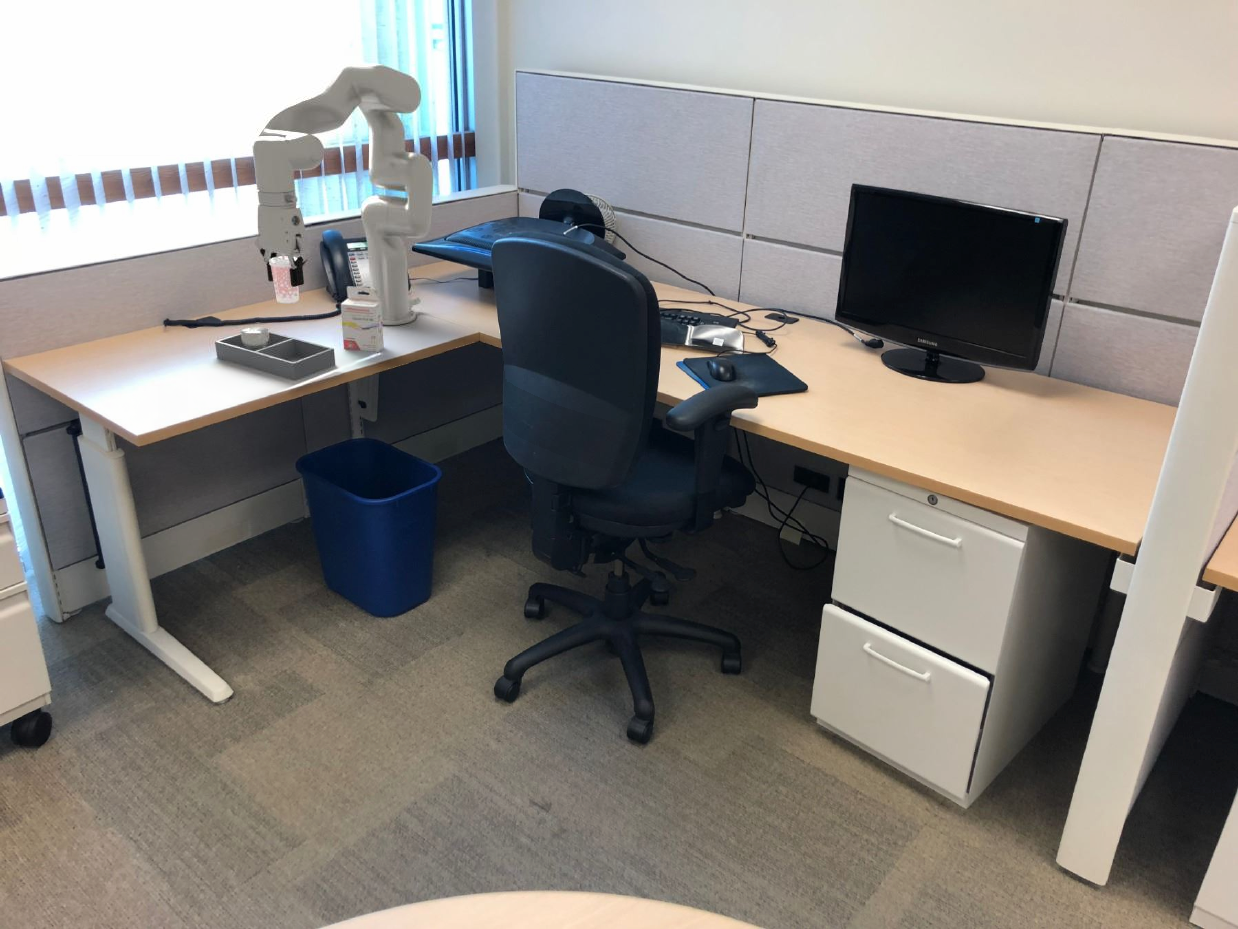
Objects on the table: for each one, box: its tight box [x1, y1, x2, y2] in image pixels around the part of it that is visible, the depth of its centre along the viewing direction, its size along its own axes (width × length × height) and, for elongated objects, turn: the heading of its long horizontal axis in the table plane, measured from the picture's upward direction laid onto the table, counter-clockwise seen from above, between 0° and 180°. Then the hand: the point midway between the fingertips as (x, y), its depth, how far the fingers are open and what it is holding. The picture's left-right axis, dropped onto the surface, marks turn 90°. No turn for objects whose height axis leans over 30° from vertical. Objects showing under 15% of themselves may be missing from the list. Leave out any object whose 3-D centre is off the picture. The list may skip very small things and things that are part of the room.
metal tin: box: [240, 326, 270, 351], centre depth 229 cm, size 6×6×6 cm
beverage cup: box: [269, 254, 300, 304], centre depth 215 cm, size 6×6×14 cm
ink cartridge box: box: [340, 285, 385, 354], centre depth 236 cm, size 9×5×15 cm, turn 84°
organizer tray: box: [214, 330, 336, 381], centre depth 227 cm, size 12×25×4 cm, turn 60°
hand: (286, 281), depth 217 cm, fingers closed on beverage cup, 6 cm apart
